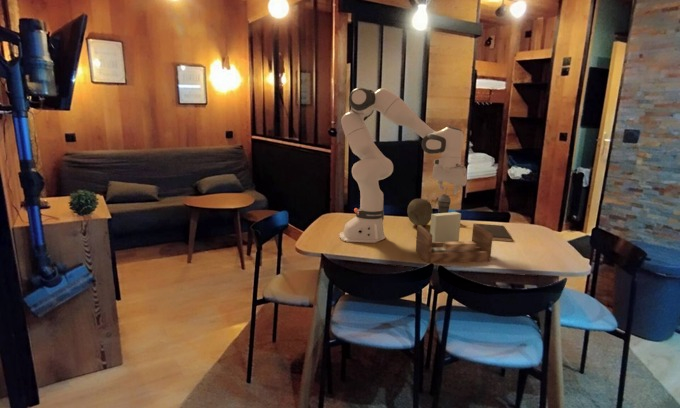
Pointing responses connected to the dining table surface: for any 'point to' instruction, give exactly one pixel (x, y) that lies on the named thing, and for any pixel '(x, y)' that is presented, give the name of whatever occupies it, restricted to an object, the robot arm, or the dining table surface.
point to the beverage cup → (443, 203)
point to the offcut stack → (456, 247)
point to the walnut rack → (478, 255)
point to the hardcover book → (497, 232)
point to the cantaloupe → (420, 212)
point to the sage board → (445, 227)
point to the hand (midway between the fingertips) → (447, 192)
